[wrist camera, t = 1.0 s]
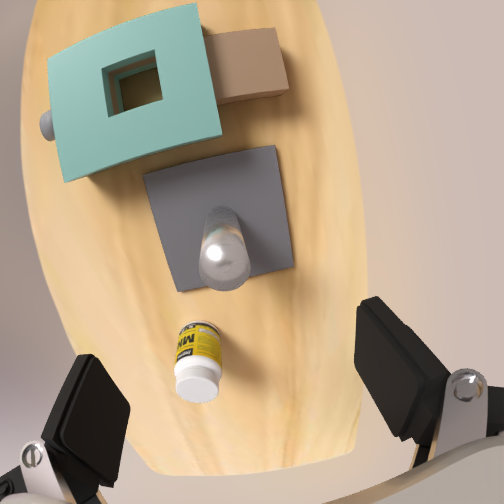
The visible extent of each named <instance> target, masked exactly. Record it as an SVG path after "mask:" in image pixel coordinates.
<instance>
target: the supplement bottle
mask: <svg viewBox="0 0 504 504" xmlns="http://www.w3.org/2000/svg"><path fill="white" fill-rule="evenodd" d="M174 373H175V377H176V392H177V394H178V395H179V396H180V397H181V398H183V399H184V400H187V401H189V402H194V403H205V402H209V401H211V400H213V399H214V398H215V397H216V396H217V395H218V392H219V380H220V379H221V376H222V363H221V337H220V333H219V331H218V329H217V328H216V327H215V326H214V325H212V324H211V323H208V322H205V321H192V322H189V323H187V324H186V325H184V326H183V327H182V329H181V331H180V334H179V340H178V346H177V353H176V359H175V366H174Z"/></svg>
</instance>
